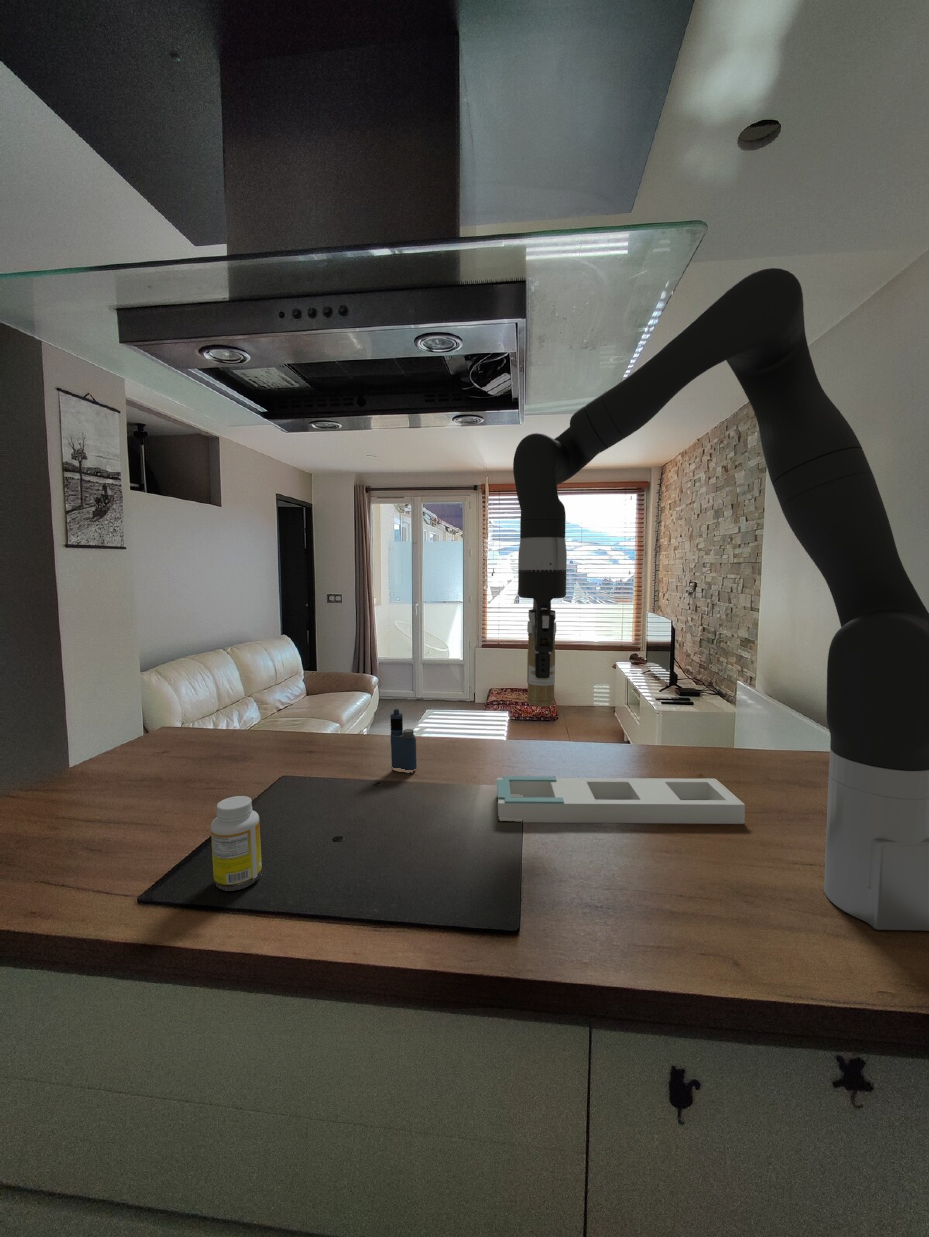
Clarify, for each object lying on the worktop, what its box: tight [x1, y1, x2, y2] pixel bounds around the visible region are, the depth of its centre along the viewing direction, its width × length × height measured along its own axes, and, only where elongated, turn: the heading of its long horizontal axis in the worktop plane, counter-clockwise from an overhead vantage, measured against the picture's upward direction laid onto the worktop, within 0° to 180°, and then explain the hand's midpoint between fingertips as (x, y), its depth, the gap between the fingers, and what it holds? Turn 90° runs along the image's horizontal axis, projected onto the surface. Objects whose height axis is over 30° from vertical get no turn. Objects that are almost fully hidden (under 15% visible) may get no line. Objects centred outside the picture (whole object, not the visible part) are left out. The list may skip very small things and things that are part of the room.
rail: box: [496, 775, 746, 825], centre depth 83 cm, size 10×37×3 cm, turn 88°
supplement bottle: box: [210, 795, 263, 887], centre depth 64 cm, size 6×6×10 cm
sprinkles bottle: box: [526, 620, 557, 707], centre depth 82 cm, size 5×5×13 cm
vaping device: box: [389, 708, 418, 770], centre depth 100 cm, size 3×5×12 cm, turn 67°
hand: (540, 674), depth 83 cm, fingers closed on sprinkles bottle, 4 cm apart
